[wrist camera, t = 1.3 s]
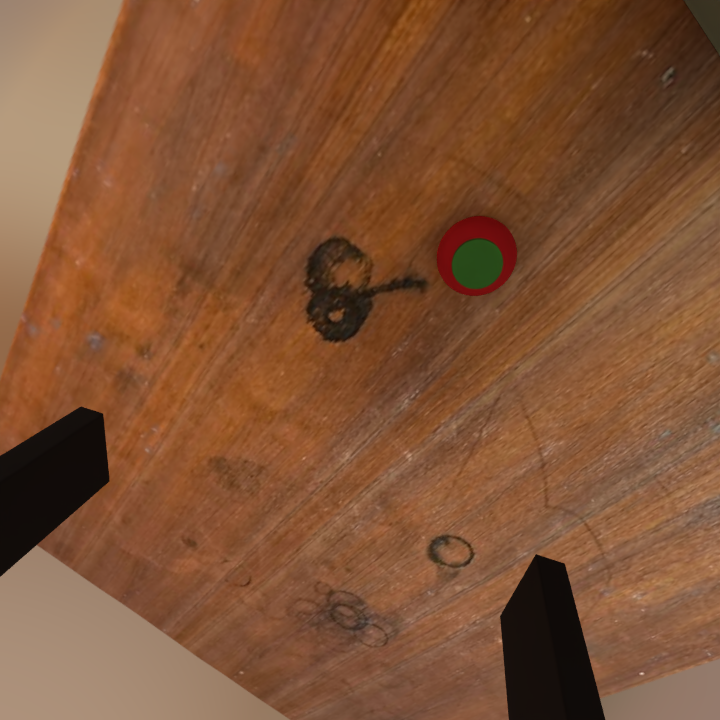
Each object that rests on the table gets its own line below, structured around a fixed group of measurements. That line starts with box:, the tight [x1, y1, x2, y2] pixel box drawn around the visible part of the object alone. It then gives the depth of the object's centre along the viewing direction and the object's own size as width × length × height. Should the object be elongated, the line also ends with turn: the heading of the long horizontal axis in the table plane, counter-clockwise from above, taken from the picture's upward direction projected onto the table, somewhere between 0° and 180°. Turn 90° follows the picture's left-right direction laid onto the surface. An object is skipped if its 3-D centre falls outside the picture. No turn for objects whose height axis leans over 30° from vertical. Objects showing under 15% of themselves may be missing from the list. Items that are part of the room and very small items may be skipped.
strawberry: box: [437, 216, 517, 296], centre depth 24 cm, size 4×4×5 cm
